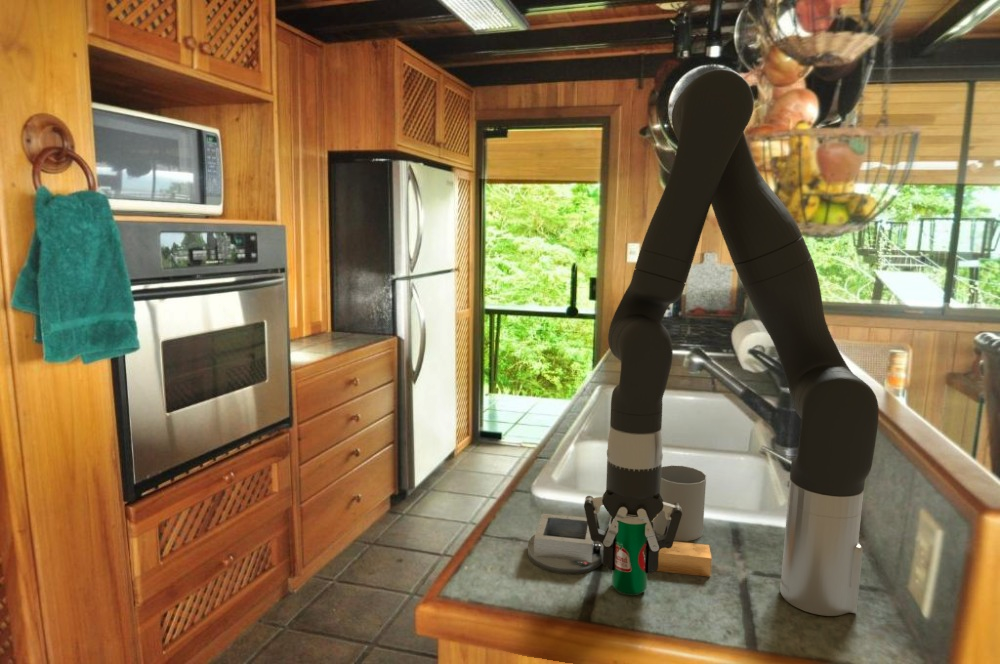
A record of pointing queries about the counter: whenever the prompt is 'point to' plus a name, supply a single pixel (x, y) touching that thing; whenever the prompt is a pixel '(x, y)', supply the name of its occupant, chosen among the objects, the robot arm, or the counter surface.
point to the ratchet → (601, 549)
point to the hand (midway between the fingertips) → (629, 569)
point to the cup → (683, 500)
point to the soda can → (630, 556)
